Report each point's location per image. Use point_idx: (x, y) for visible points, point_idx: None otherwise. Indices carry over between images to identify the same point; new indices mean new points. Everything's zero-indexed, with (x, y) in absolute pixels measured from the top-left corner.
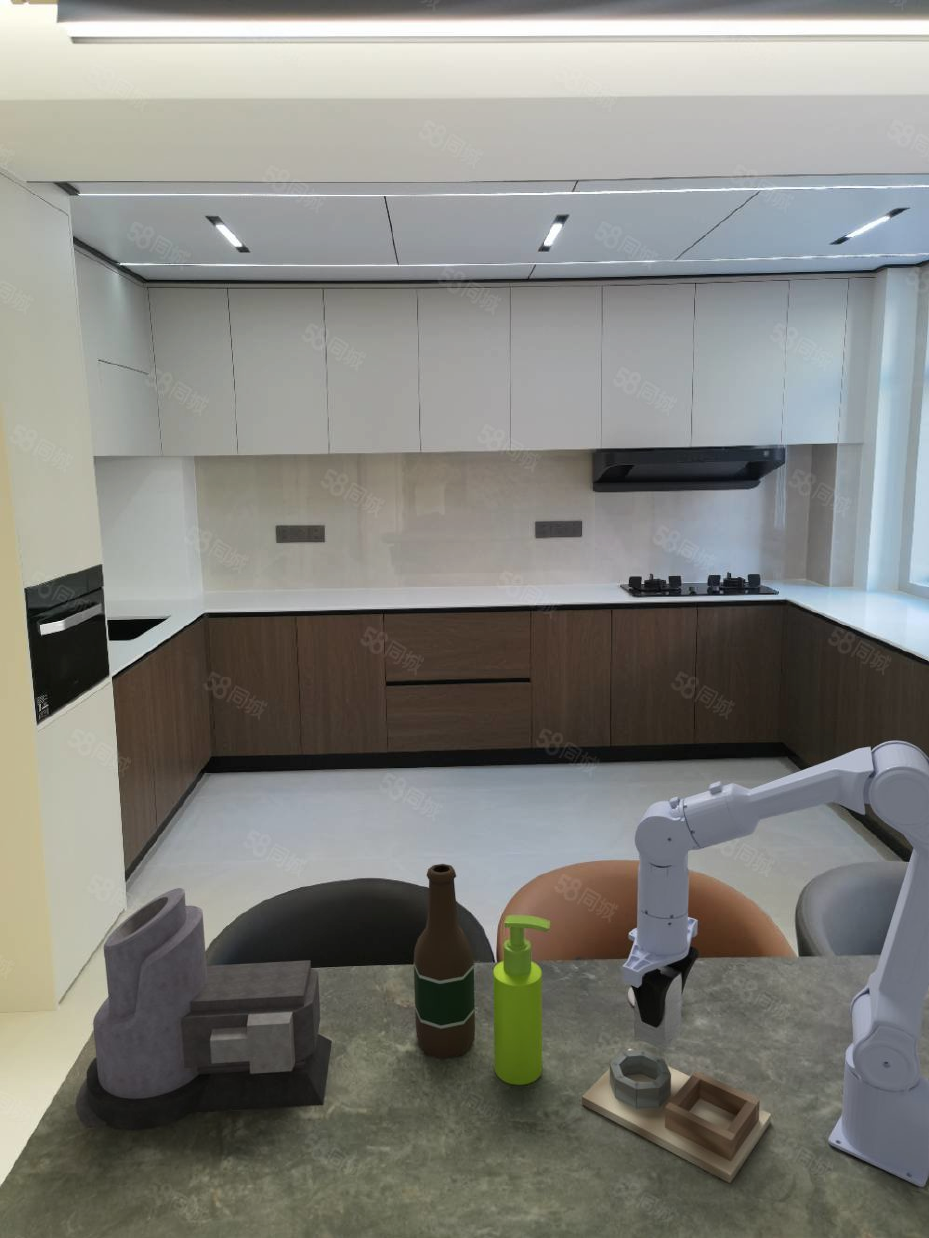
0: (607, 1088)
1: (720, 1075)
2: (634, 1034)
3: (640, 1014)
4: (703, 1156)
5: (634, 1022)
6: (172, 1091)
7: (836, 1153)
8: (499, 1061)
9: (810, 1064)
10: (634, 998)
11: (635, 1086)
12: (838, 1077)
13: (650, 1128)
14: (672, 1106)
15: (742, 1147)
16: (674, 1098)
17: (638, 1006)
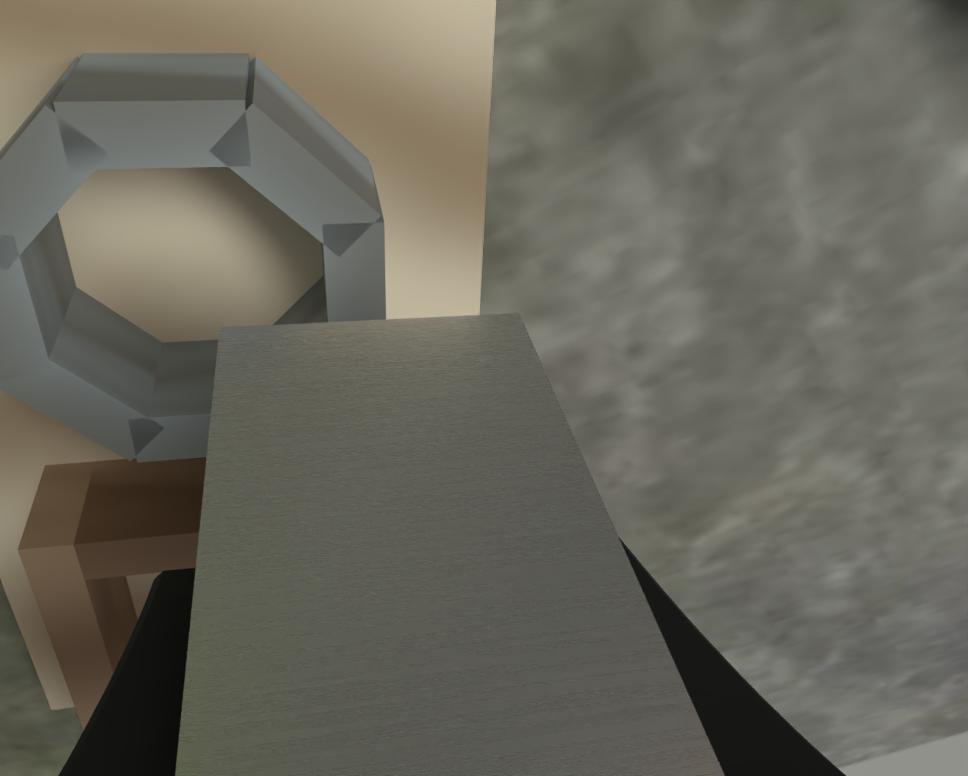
0: (9, 80)
1: (608, 416)
2: (219, 342)
3: (136, 628)
4: (43, 628)
5: (214, 411)
6: None
7: None
8: None
9: (837, 586)
10: (190, 628)
11: (3, 368)
12: (803, 654)
13: None
14: (55, 568)
15: None
16: (119, 547)
17: (96, 710)
